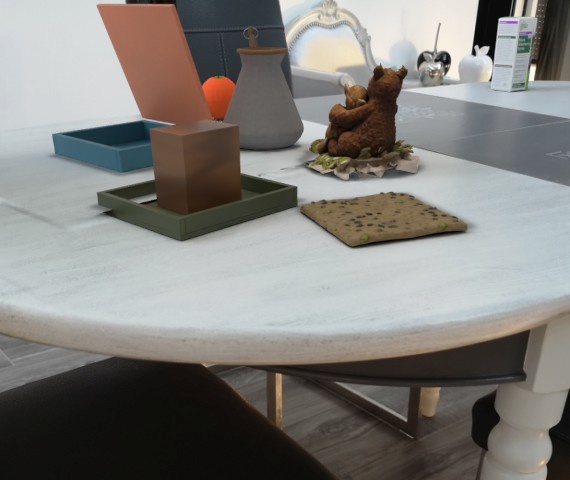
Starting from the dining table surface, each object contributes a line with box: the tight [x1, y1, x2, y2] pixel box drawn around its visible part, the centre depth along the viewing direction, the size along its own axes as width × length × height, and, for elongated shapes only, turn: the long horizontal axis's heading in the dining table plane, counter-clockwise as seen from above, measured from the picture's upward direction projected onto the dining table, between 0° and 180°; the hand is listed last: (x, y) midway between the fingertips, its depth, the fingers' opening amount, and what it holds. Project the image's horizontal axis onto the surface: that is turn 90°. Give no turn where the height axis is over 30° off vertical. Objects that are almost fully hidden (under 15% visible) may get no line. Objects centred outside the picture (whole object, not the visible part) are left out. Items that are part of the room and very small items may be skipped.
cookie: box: [299, 191, 468, 247], centre depth 63 cm, size 12×12×1 cm
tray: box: [96, 172, 299, 242], centre depth 67 cm, size 15×13×2 cm
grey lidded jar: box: [222, 25, 305, 151], centre depth 94 cm, size 21×12×15 cm, turn 7°
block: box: [150, 120, 242, 215], centre depth 66 cm, size 7×5×8 cm
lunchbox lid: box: [95, 3, 214, 125], centre depth 86 cm, size 15×16×1 cm
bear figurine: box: [305, 62, 420, 181], centre depth 81 cm, size 14×15×12 cm
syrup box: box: [490, 15, 538, 93], centre depth 144 cm, size 6×6×14 cm
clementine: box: [201, 74, 236, 120], centre depth 114 cm, size 8×7×7 cm
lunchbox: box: [51, 119, 170, 173], centre depth 87 cm, size 15×16×3 cm
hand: (163, 15), depth 84 cm, fingers closed
